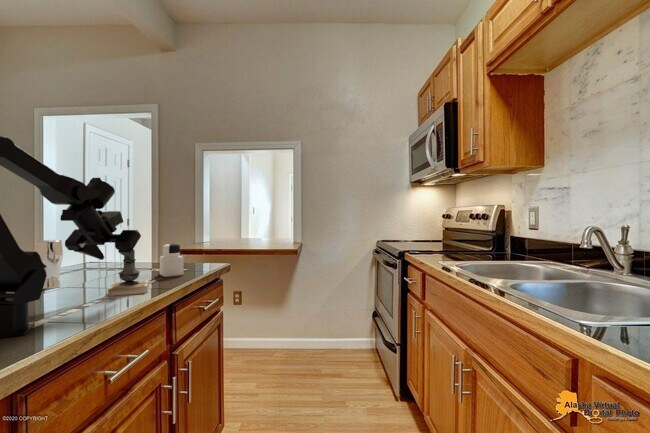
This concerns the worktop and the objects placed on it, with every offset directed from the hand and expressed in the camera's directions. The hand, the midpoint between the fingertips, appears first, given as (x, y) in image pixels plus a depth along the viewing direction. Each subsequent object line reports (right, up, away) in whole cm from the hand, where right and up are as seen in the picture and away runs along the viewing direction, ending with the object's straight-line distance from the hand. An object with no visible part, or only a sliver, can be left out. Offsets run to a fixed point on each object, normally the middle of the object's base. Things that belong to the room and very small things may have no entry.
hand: (117, 258), depth 98 cm
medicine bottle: (0, -11, +33) cm, 35 cm away
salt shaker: (0, -9, +5) cm, 10 cm away
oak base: (0, -11, +5) cm, 12 cm away
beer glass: (-28, -11, +10) cm, 32 cm away
